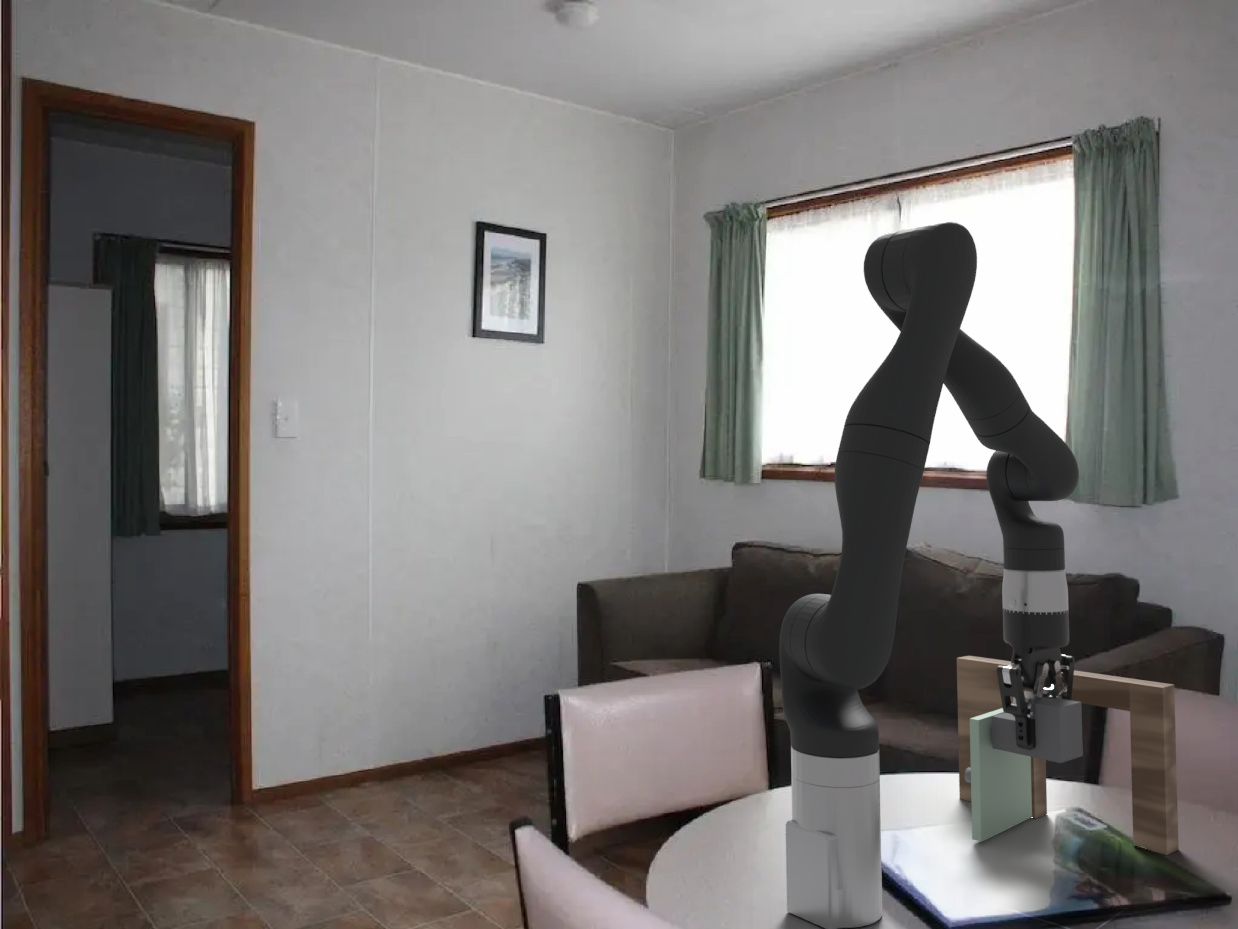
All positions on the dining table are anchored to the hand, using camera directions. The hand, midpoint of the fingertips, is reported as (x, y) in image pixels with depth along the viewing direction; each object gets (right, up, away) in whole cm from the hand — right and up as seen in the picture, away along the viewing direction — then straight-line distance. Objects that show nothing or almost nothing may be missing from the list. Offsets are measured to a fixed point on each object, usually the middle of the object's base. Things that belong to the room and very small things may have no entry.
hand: (1038, 743), depth 124 cm
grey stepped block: (0, -1, 0) cm, 1 cm away
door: (-3, -12, +6) cm, 14 cm away
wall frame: (+7, -13, +9) cm, 17 cm away
